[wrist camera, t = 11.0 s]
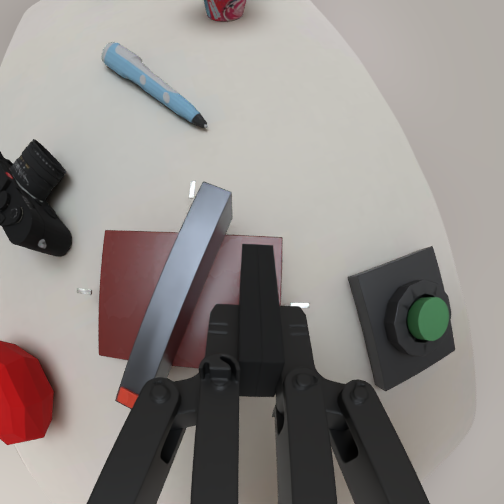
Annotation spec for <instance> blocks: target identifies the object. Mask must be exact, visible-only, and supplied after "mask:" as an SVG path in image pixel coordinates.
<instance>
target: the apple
mask: <svg viewBox="0 0 504 504" xmlns="http://www.w3.org/2000/svg"><path fill="white" fill-rule="evenodd" d="M53 395H54V391H53V389H52V387H51V385H50V384H49V382H48V380H47V378H46V376H45V373H44V371H43V369H42V367H41V365H40V363H39V361H38V359H37V358H35V357H33V356H32V355H30V354H29V353H27V352H26V351H24V350H23V349H22V348H20V347H19V346H17V345H16V344H11V343H7V342H3V341H0V439H1V440H2V441H3V442H4V443H5V444H7V445H10V444H15V443H20V442H25V441H30V440H34V439H39V438H43V437H44V436H45V434H46V431H47V429H48V427H49V425H50V422H51V420H52V408H53Z"/></svg>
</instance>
